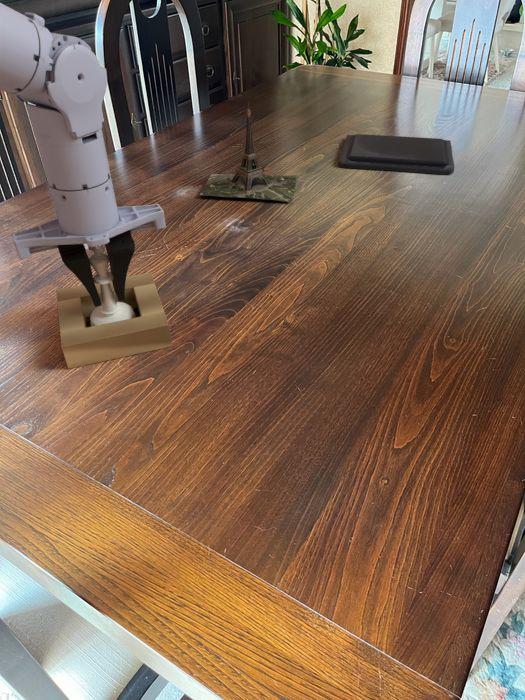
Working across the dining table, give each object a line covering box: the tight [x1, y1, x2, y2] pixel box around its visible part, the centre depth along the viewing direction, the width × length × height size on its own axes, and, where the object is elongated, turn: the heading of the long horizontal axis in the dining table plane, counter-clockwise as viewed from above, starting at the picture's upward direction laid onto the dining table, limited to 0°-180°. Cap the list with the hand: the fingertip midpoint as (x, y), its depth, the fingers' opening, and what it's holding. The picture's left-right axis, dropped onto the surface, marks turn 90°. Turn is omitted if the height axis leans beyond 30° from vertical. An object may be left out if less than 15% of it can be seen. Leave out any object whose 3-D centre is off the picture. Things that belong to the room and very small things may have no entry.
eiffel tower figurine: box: [199, 104, 298, 203], centre depth 87 cm, size 15×10×13 cm
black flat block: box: [337, 133, 455, 176], centre depth 100 cm, size 20×2×15 cm
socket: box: [55, 271, 173, 370], centre depth 62 cm, size 11×11×3 cm
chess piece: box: [87, 245, 136, 327], centre depth 59 cm, size 5×5×10 cm
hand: (108, 298), depth 60 cm, fingers closed on chess piece
